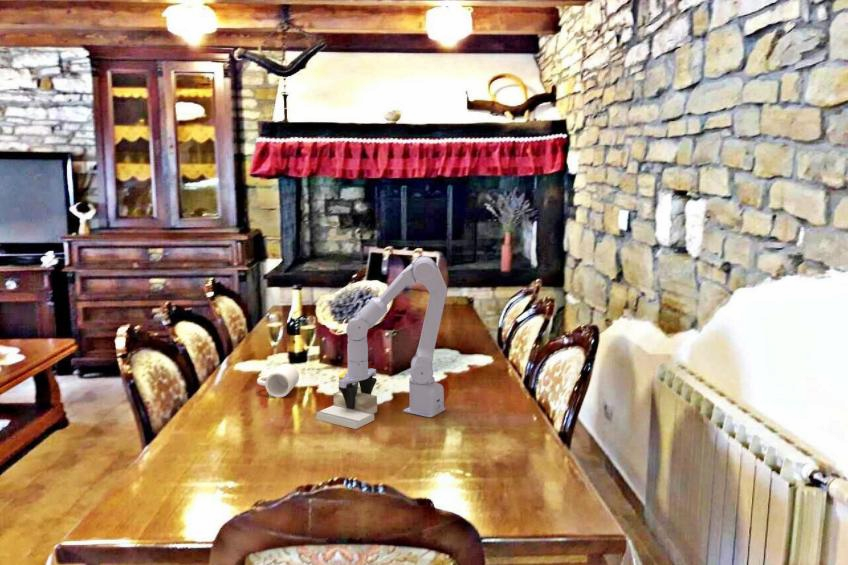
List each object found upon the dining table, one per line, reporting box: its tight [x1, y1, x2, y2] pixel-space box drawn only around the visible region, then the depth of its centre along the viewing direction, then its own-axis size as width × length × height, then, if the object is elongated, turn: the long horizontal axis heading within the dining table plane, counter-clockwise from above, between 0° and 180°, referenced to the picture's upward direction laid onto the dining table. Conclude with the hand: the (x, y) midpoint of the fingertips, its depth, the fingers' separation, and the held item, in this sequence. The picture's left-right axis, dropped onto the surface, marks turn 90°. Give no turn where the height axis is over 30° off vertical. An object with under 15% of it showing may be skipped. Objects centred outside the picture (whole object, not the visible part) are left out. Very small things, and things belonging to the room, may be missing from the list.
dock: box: [315, 403, 375, 430], centre depth 197 cm, size 14×8×2 cm, turn 56°
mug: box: [256, 363, 300, 399], centre depth 221 cm, size 12×10×8 cm
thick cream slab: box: [333, 390, 378, 414], centre depth 204 cm, size 12×5×5 cm, turn 56°
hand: (358, 405), depth 203 cm, fingers open, 6 cm apart
